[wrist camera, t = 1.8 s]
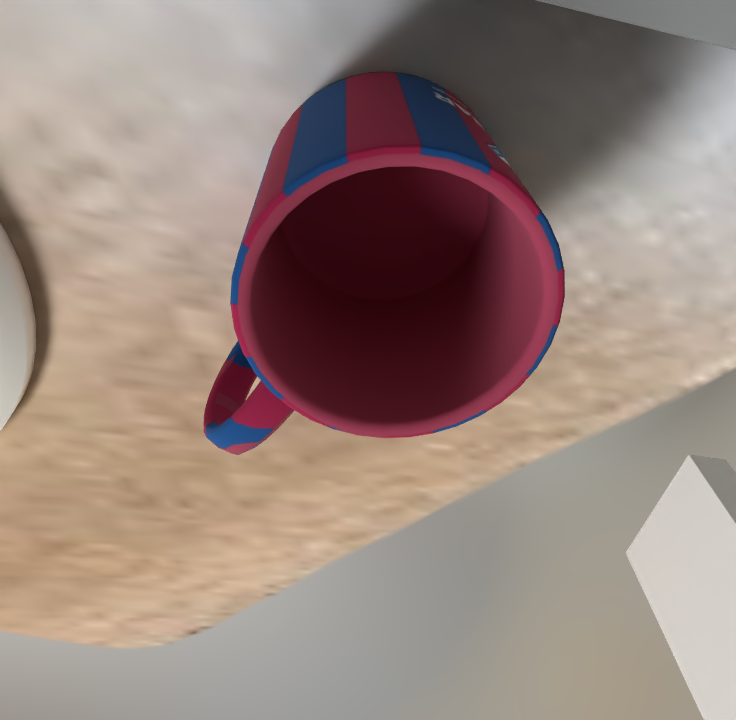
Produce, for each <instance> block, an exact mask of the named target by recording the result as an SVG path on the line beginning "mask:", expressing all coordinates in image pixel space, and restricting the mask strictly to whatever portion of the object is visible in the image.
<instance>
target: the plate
mask: <svg viewBox="0 0 736 720" xmlns="http://www.w3.org/2000/svg"><path fill="white" fill-rule="evenodd" d="M35 353H36V320H35V314H34V309H33V303H32V297H31V293H30V290H29V287H28V283H27V280H26V277H25V274H24V271H23V268H22V265H21V262H20V260H19V258H18V256H17V254H16V252H15V250H14V248H13V246H12V244H11V241H10V239H9V237H8V235H7V233H6V231H5V229H4V228H3V226H2V225H1V223H0V430H1V429H2V428H3V427H4V425H5V424H6V422H7V421H8V419H9V418H10V416H11V415H12V414H13V412H14V410H15V409H16V407H17V405H18V404H19V402H20V400H21V399H22V397H23V395H24V394H25V391H26V389H27V386H28V383H29V380H30V378H31V375H32V372H33V366H34V359H35Z"/></svg>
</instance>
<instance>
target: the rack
mask: <svg viewBox="0 0 736 720" xmlns="http://www.w3.org/2000/svg"><path fill="white" fill-rule="evenodd" d="M536 1H540V2H544V3H548V4H552V5H556V6H560V7H564V8H568V9H572V10H576V11H580V12H584V13H588V14H592V15H596V16H600V17H604V18H609V19H613V20H617V21H621V22H625V23H629V24H633V25H637V26H641V27H645V28H649V29H653V30H657V31H661V32H665V33H669V34H673V35H677V36H681V37H685V38H689V39H693V40H697V41H701V42H705V43H709V44H714V45H718V46H722V47H726V48H730V49H734V50H736V0H536Z"/></svg>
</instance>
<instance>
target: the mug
mask: <svg viewBox="0 0 736 720" xmlns="http://www.w3.org/2000/svg"><path fill="white" fill-rule="evenodd" d="M564 297H565V282H564V266H563V262H562V257H561V252H560V248H559V244H558V242H557V240H556V237H555V235H554V233H553V231H552V228H551V226H550V224H549V222H548V220H547V218H546V217H545V215H544V214H543V212H542V211H541V209H540V208H539V207H538V205H537V204H536V202H535V201H534V199H533V198H532V197H531V195H530V194H529V192H528V191H527V189H526V188H525V186H524V185H523V184H522V182H521V181H520V179H519V178H518V176H517V175H516V173H515V172H514V171H513V169H512V168H511V166H510V165H509V163H508V162H507V161H506V159H505V158H504V156H503V155H502V153H501V152H500V150H499V149H498V148H497V146H496V145H495V143H494V142H493V140H492V139H491V137H490V136H489V135H488V133H487V132H486V130H485V129H484V127H483V126H482V125H481V123H480V122H479V120H478V119H477V118H476V116H475V115H474V114H473V112H472V111H471V110H470V109H469V108H468V107H467V106H466V105H465V104H464V103H463V102H462V101H461V100H460V99H459V98H457V97H456V96H455V95H454V94H452V93H450V92H449V91H447V90H446V89H444V88H443V87H441V86H439V85H438V84H436V83H433V82H430V81H428V80H425V79H423V78H420V77H417V76H413V75H408V74H402V73H396V72H371V73H366V74H362V75H357V76H352V77H348V78H346V79H343V80H341V81H338V82H336V83H334V84H331V85H329V86H327V87H326V88H324V89H323V90H321V91H319V92H318V93H316V94H315V95H313V96H312V97H310V98H309V99H308V100H307V101H306V102H305V103H304V104H303V105H302V106H301V107H300V108H298V109H297V110H296V111H295V112H294V113H293V115H292V116H291V118H290V119H289V120H288V122H287V123H286V124H285V126H284V127H283V129H282V130H281V132H280V134H279V136H278V138H277V140H276V142H275V144H274V147H273V149H272V151H271V154H270V157H269V161H268V164H267V167H266V170H265V173H264V176H263V179H262V182H261V185H260V188H259V191H258V194H257V197H256V200H255V203H254V206H253V209H252V212H251V215H250V218H249V221H248V224H247V227H246V230H245V234H244V237H243V240H242V243H241V246H240V249H239V252H238V256H237V260H236V263H235V267H234V271H233V275H232V285H231V303H230V304H231V310H232V317H233V324H234V329H235V332H236V335H237V338H238V342H237V343H236V345H235V346H234V348H233V349H232V351H231V352H230V354H229V356H228V358H227V359H226V361H225V363H224V364H223V366H222V368H221V370H220V372H219V374H218V376H217V378H216V380H215V382H214V385H213V387H212V390H211V392H210V395H209V398H208V401H207V404H206V408H205V413H204V433H205V435H206V437H207V438H208V439H209V440H210V441H211V442H212V443H214V444H215V445H216V446H217V447H218V448H220V449H223V450H225V451H227V452H230V453H232V454H237V455H239V454H242V453H244V452H246V451H248V450H251V449H253V448H255V447H256V446H258V445H259V444H260V443H262V442H263V441H264V440H266V439H267V438H268V437H269V436H270V435H271V434H272V433H273V432H274V431H275V430H277V429H278V428H279V427H280V426H281V424H282V423H283V422H284V421H285V420H286V419H287V418H288V417H289V416H290V415H291V414H292V412H293V411H294V410H295V411H297V412H298V413H300V414H302V415H303V416H305V417H307V418H309V419H310V420H312V421H315V422H317V423H320V424H322V425H325V426H327V427H330V428H332V429H335V430H339V431H343V432H347V433H351V434H355V435H361V436H370V437H379V438H398V437H413V436H419V435H425V434H432V433H435V432H439V431H442V430H446V429H449V428H452V427H456V426H458V425H461V424H463V423H465V422H467V421H470V420H472V419H474V418H476V417H478V416H480V415H482V414H484V413H485V412H487V411H488V410H490V409H492V408H493V407H495V406H496V405H498V404H500V403H501V402H502V401H504V400H505V399H506V398H507V397H508V396H510V395H511V394H512V393H513V392H514V391H515V390H517V389H518V388H519V387H520V386H521V385H522V384H523V383H524V382H525V380H526V379H527V378H528V377H529V376H530V375H531V374H532V372H533V371H534V370H535V369H536V368H537V366H538V365H539V363H540V362H541V360H542V358H543V357H544V355H545V353H546V352H547V350H548V348H549V347H550V345H551V343H552V340H553V338H554V335H555V333H556V330H557V327H558V325H559V322H560V318H561V313H562V308H563V302H564ZM257 376H258V377H259V378H260V380H261V381H260V383H259V384H258V385H257V387H256V388H255V390H254V391H253V392H252V393H251V395H250V396H249V397H248V398H247V400H246V397H247V395H248V393H249V391H250V388H251V386H252V384H253V383H254V381H255V379H256V377H257ZM245 400H246V401H245Z"/></svg>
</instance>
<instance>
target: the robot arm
mask: <svg viewBox="0 0 736 720" xmlns="http://www.w3.org/2000/svg"><path fill="white" fill-rule="evenodd" d="M626 554H627V557H628V559H629V561H630V563H631V565H632V567H633V569H634V571H635V573H636V576H637V578H638V580H639V582H640V584H641V586H642V589H643V591H644V593H645V595H646V597H647V599H648V601H649V603H650V605H651V608H652V610H653V612H654V614H655V616H656V619H657V621H658V623H659V625H660V627H661V629H662V631H663V633H664V636H665V638H666V640H667V642H668V644H669V646H670V648H671V650H672V653H673V655H674V657H675V659H676V661H677V663H678V665H679V668H680V670H681V672H682V674H683V676H684V678H685V681H686V682H687V685H688V687H689V689H690V691H691V693H692V695H693V698H694V700H695V702H696V704H697V706H698V708H699V710H700V713H701V715H702V717H703V719H704V720H736V473H735V471H734V470H733V469H732V467H731V466H730V465H729V464H728V462H727V461H726V460H722V459H716V458H709V457H702V456H695V455H688V457H687V458H686V460H685V461H684V463H683V465H682V466H681V468H680V469H679V471H678V473H677V474H676V475H675V477H674V478H673V480H672V482H671V483H670V485H669V486H668V488H667V490H666V491H665V493H664V494H663V496H662V497H661V499H660V500H659V502H658V503H657V505H656V507H655V508H654V510H653V511H652V513H651V514H650V516H649V517H648V519H647V521H646V522H645V524H644V525H643V527H642V529H641V530H640V531H639V533H638V535H637V536H636V538H635V539H634V541H633V542H632V544H631V545H630V547H629V549H628V550H627V552H626Z"/></svg>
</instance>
